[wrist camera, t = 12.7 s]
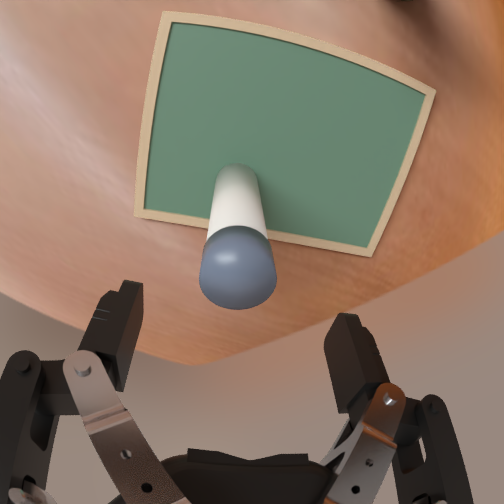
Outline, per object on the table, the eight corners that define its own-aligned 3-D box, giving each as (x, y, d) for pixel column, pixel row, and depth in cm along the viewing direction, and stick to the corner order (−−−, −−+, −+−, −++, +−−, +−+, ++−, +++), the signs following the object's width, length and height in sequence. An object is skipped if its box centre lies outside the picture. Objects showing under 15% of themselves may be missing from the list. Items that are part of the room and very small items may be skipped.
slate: (429, 88, 20) (436, 90, 19) (367, 251, 29) (371, 257, 28) (165, 13, 17) (162, 11, 16) (136, 211, 25) (133, 216, 24)
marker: (263, 166, 23) (286, 256, 13) (253, 206, 25) (265, 313, 15) (218, 158, 22) (204, 243, 12) (211, 198, 24) (195, 304, 14)
